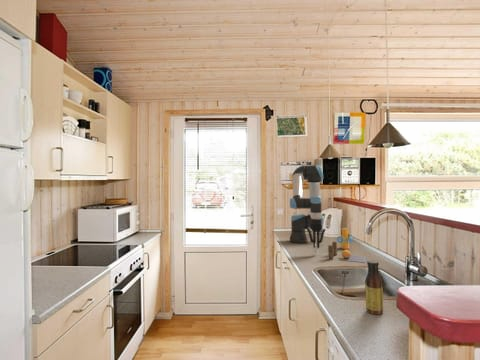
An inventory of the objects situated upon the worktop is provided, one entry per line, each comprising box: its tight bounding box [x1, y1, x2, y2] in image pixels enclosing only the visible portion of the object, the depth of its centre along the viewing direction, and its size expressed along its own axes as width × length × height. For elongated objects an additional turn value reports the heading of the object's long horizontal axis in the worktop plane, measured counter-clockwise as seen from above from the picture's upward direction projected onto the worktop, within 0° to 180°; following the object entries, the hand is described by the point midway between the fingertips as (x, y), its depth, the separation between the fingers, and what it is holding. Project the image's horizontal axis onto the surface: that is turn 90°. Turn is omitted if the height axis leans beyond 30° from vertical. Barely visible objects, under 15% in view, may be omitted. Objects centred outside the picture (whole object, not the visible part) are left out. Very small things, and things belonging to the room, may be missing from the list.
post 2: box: [331, 241, 338, 256], centre depth 216 cm, size 3×3×9 cm
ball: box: [341, 249, 352, 258], centre depth 206 cm, size 6×6×6 cm
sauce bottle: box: [364, 259, 384, 315], centre depth 122 cm, size 7×6×20 cm
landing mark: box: [341, 255, 368, 264], centre depth 204 cm, size 14×14×1 cm
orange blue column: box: [336, 227, 354, 250], centre depth 237 cm, size 12×10×15 cm
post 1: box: [327, 244, 334, 261], centre depth 205 cm, size 3×3×9 cm
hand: (316, 252), depth 216 cm, fingers closed
